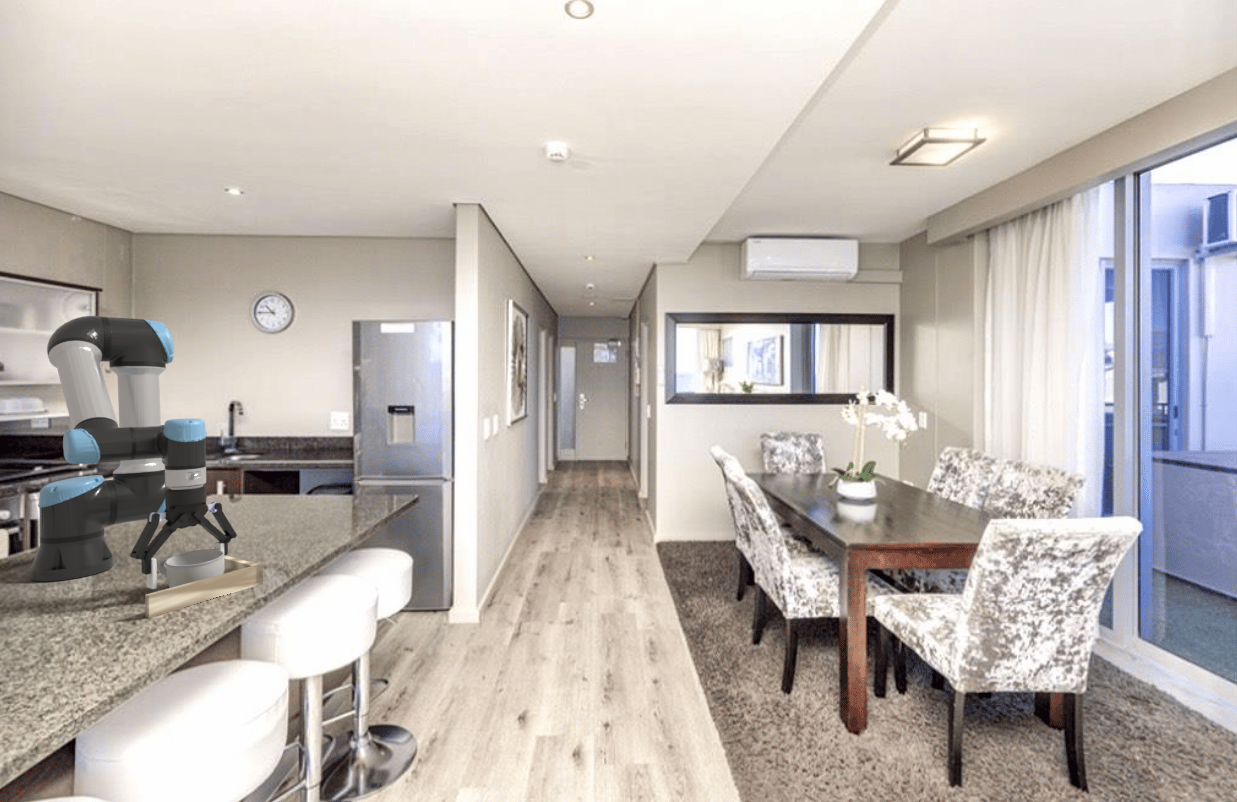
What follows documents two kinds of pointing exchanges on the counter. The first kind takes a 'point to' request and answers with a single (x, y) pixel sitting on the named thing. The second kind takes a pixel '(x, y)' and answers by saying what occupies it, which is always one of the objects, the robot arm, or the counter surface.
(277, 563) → the counter surface
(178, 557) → the teacup
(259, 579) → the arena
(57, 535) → the robot arm
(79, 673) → the counter surface
